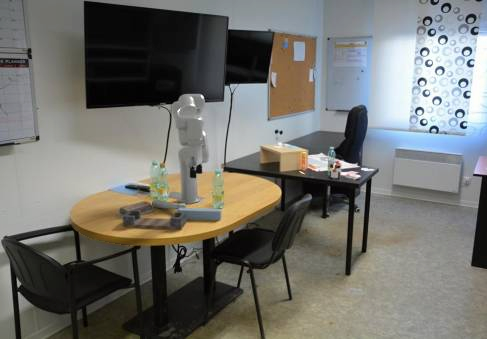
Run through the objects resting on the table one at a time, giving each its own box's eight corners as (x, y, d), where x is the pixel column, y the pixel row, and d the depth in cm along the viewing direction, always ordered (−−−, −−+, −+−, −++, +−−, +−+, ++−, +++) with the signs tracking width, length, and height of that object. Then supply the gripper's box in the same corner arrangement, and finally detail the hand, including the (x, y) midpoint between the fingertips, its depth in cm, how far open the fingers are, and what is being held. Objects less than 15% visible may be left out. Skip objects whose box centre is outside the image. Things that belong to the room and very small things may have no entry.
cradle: (123, 227, 208) (122, 216, 207) (130, 219, 218) (130, 209, 217) (181, 229, 205) (181, 218, 204) (186, 222, 215) (185, 212, 214)
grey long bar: (157, 198, 240) (189, 201, 225) (159, 210, 241) (191, 213, 226) (150, 201, 236) (182, 203, 221) (152, 212, 237) (184, 216, 222)
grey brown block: (143, 199, 237) (154, 203, 231) (144, 207, 238) (154, 211, 232) (115, 206, 224) (125, 211, 218) (115, 215, 226) (126, 220, 219)
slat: (178, 219, 220) (177, 210, 219) (179, 216, 224) (179, 207, 222) (220, 220, 218) (220, 211, 217) (221, 218, 222) (221, 209, 221)
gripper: (193, 139, 221) (194, 171, 225) (182, 144, 205) (183, 179, 208) (207, 140, 220) (208, 172, 223) (197, 145, 203) (198, 179, 207)
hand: (196, 175), depth 216 cm, fingers open, 9 cm apart
